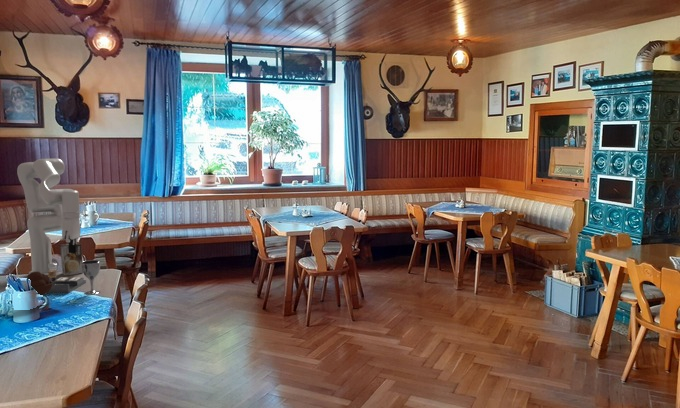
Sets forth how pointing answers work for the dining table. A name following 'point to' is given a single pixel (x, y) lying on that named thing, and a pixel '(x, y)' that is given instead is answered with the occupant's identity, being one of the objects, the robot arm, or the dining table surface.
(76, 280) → the label
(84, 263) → the wine glass
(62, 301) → the dining table surface
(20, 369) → the dining table surface
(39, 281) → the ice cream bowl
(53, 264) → the swing arm
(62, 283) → the psu chassis
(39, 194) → the robot arm
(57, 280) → the label
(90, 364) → the dining table surface
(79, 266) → the coffee box
